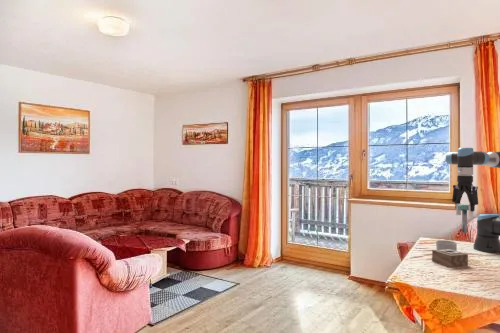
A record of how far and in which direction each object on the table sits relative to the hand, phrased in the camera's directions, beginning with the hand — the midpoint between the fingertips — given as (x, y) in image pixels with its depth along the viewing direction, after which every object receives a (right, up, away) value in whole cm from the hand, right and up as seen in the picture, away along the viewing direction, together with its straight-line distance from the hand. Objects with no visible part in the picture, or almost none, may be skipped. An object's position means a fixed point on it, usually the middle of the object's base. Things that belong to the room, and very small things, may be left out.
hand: (464, 215), depth 191 cm
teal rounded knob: (0, -9, 0) cm, 9 cm away
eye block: (-11, -25, -4) cm, 28 cm away
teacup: (-3, -26, +14) cm, 29 cm away
